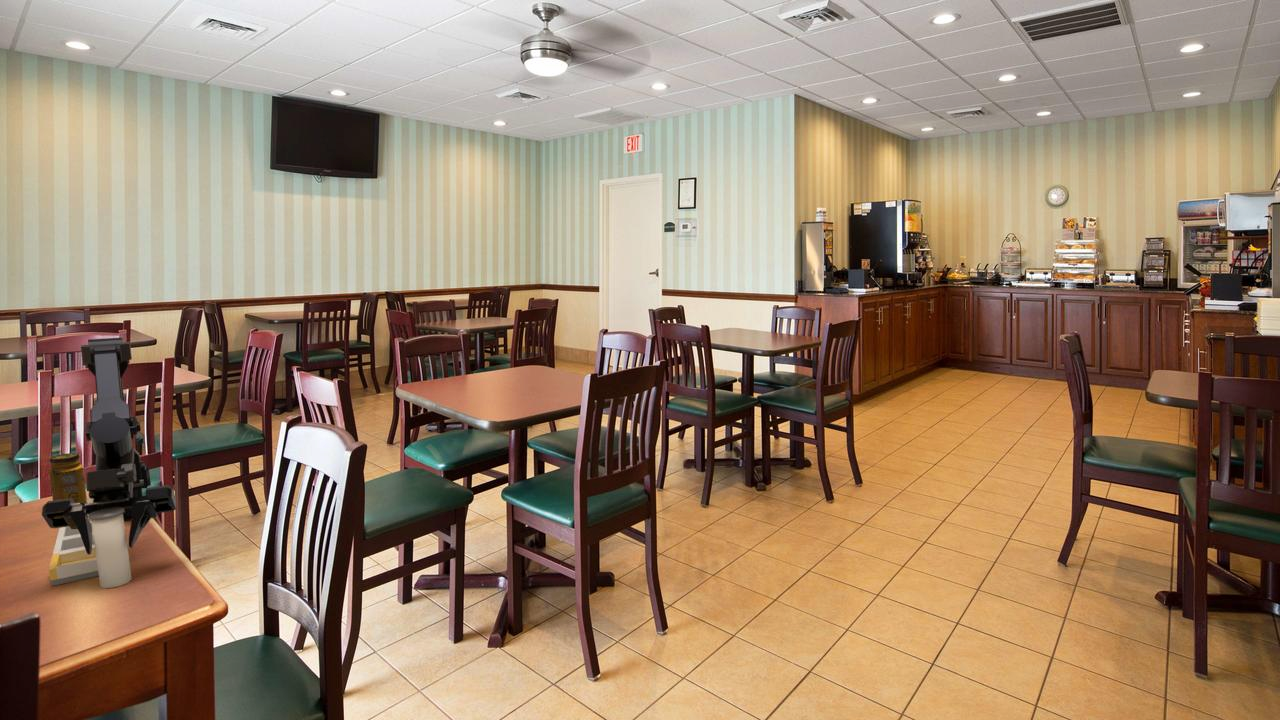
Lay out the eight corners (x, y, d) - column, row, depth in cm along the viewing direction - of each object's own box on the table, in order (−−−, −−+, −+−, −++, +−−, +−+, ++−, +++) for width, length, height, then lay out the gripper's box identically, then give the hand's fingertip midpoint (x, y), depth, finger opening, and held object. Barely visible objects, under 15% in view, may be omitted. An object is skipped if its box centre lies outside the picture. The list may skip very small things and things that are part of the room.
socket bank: (110, 531, 147) (109, 517, 147) (107, 573, 128) (105, 558, 128) (61, 540, 143) (60, 526, 142) (50, 586, 123) (48, 570, 123)
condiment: (93, 499, 167) (86, 450, 165) (83, 510, 159) (76, 459, 157) (54, 504, 164) (47, 454, 162) (43, 516, 156) (35, 464, 154)
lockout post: (133, 573, 128) (124, 505, 126) (133, 583, 124) (124, 512, 122) (98, 581, 125) (88, 511, 123) (98, 591, 121) (87, 519, 119)
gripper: (37, 457, 120) (26, 541, 112) (167, 442, 129) (165, 520, 121) (55, 487, 128) (47, 568, 120) (176, 472, 137) (176, 546, 129)
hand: (109, 550), depth 122 cm, fingers open, 6 cm apart
